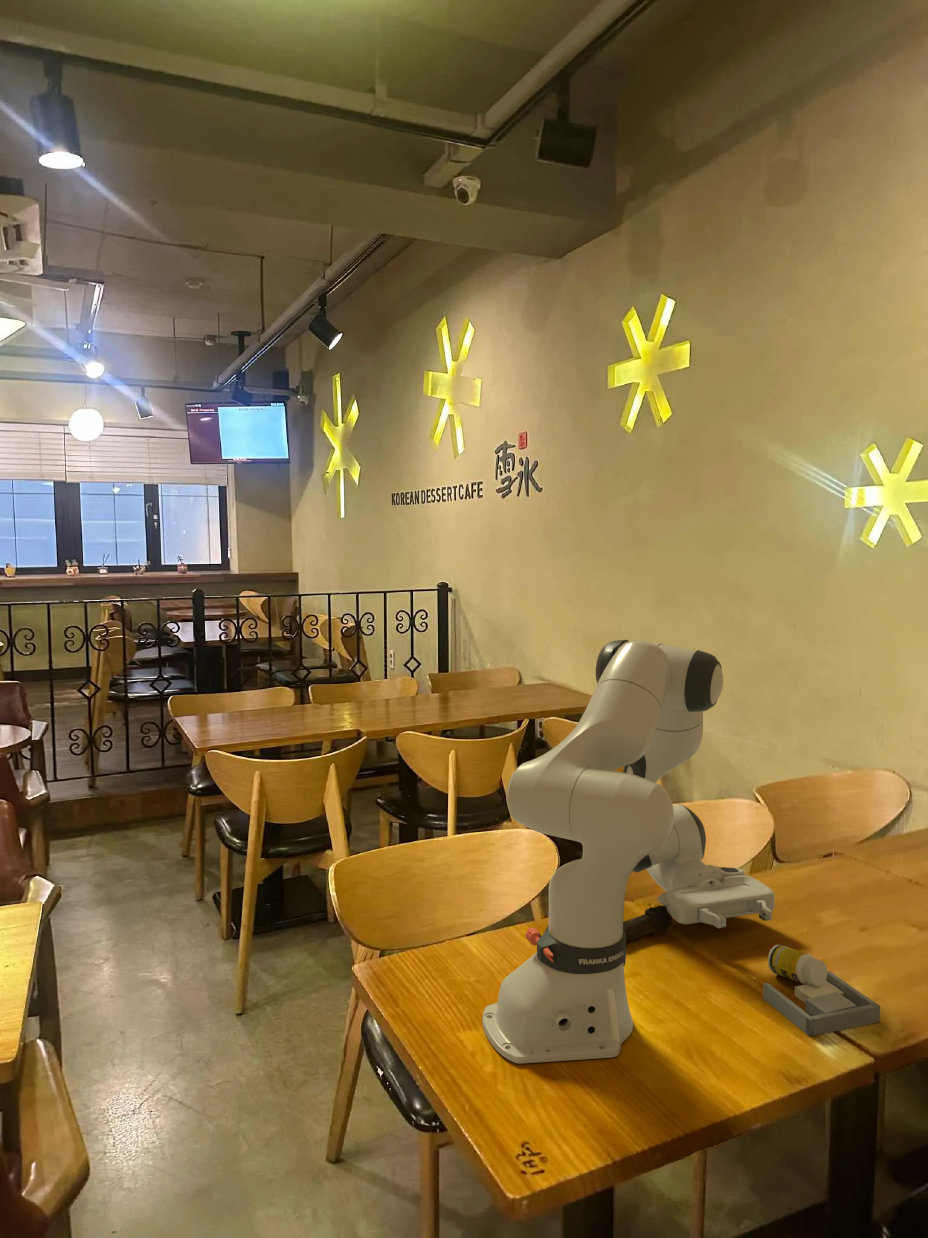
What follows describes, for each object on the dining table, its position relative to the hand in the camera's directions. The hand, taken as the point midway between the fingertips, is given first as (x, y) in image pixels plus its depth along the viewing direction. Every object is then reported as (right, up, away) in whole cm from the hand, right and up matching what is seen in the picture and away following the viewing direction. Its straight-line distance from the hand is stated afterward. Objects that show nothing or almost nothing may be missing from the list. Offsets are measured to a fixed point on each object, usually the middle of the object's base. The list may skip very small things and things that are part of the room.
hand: (745, 920), depth 145 cm
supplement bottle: (+3, -4, -6) cm, 8 cm away
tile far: (+7, -8, -14) cm, 18 cm away
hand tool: (-19, -6, +7) cm, 21 cm away
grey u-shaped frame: (+5, -7, -18) cm, 20 cm away
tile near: (+7, -8, -19) cm, 21 cm away
